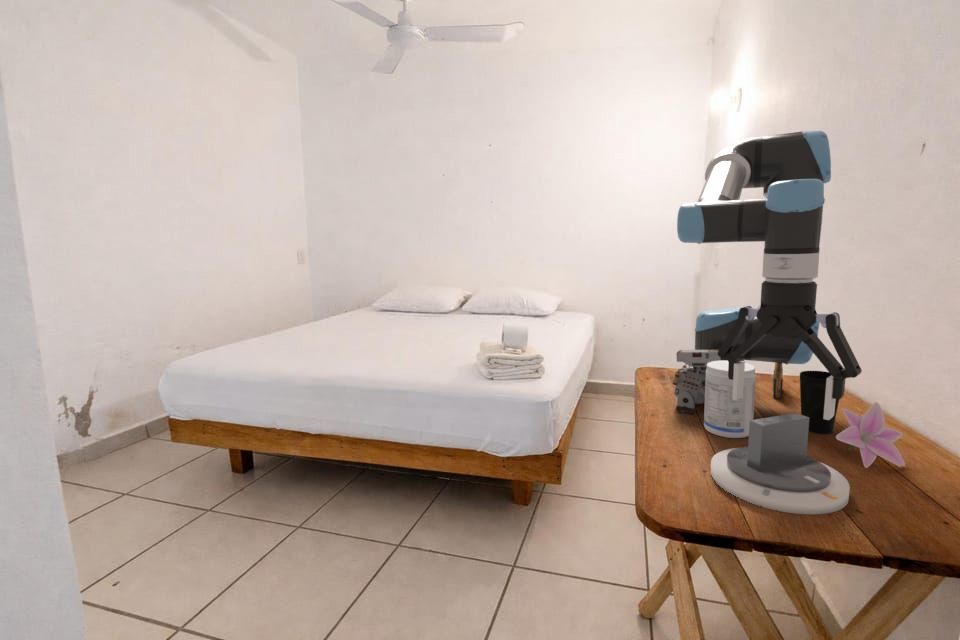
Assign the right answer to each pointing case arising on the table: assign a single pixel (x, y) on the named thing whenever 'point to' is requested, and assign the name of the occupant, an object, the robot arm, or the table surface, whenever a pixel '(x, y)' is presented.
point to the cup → (815, 401)
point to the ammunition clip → (778, 381)
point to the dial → (779, 456)
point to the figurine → (692, 378)
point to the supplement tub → (728, 401)
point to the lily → (871, 436)
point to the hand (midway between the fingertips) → (780, 407)
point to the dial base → (782, 491)
